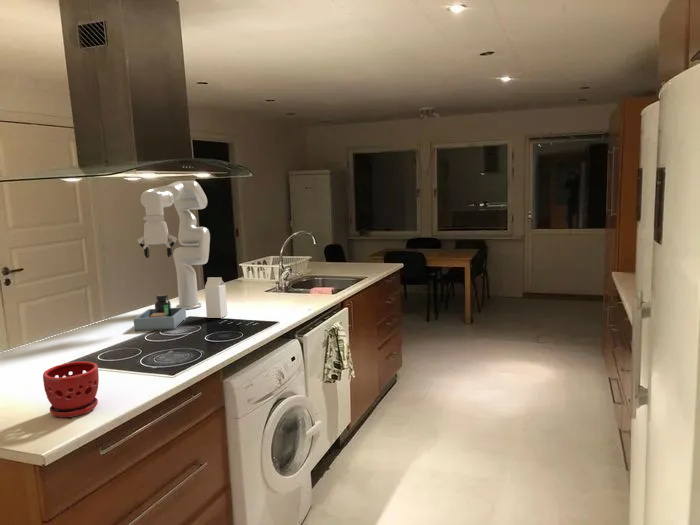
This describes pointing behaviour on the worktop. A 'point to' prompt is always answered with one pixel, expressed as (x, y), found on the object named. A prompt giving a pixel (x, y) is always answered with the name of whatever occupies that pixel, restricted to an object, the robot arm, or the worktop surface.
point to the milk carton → (215, 298)
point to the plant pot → (72, 388)
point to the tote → (159, 320)
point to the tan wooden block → (157, 315)
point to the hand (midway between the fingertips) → (158, 257)
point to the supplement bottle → (163, 305)
